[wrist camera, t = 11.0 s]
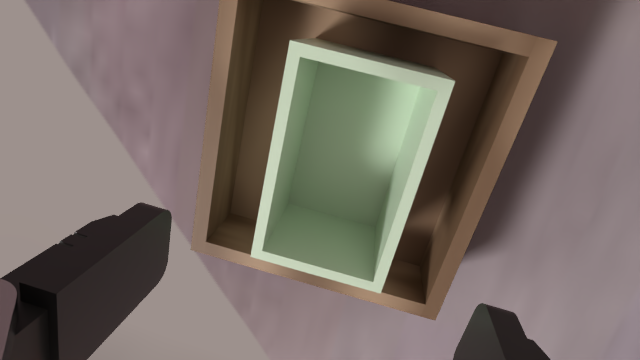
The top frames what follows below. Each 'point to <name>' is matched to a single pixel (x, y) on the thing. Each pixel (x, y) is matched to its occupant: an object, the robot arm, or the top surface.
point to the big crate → (446, 154)
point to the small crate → (346, 160)
